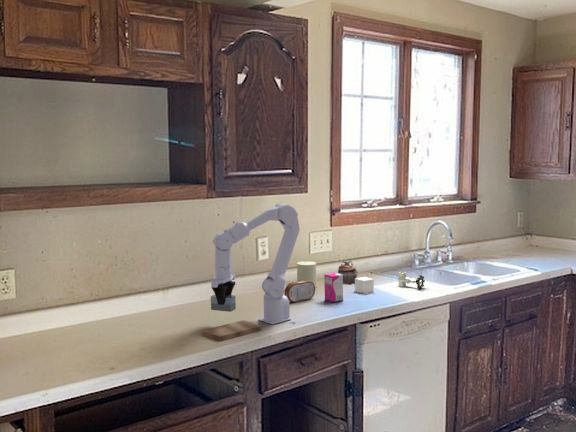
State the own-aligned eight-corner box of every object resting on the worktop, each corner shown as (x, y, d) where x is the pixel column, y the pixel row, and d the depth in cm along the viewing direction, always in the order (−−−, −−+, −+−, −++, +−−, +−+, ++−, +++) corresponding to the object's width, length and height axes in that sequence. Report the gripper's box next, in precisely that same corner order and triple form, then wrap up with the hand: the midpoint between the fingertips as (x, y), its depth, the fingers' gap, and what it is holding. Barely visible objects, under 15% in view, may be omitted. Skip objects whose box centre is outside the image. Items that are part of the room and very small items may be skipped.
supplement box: (334, 298, 252) (334, 272, 251) (343, 301, 247) (343, 274, 246) (324, 300, 249) (324, 273, 248) (332, 303, 244) (332, 276, 243)
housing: (216, 307, 216) (216, 293, 216) (235, 309, 213) (235, 295, 213) (211, 309, 213) (210, 296, 212) (230, 311, 210) (230, 298, 209)
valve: (394, 286, 274) (418, 290, 266) (395, 273, 273) (418, 276, 265) (401, 284, 279) (424, 288, 271) (401, 270, 278) (425, 274, 270)
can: (314, 284, 279) (314, 260, 277) (318, 289, 270) (318, 263, 268) (295, 285, 277) (295, 260, 276) (298, 289, 268) (298, 264, 267)
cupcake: (338, 283, 280) (338, 263, 279) (337, 279, 290) (337, 259, 289) (358, 283, 280) (358, 263, 279) (356, 279, 290) (356, 259, 289)
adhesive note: (373, 292, 264) (373, 279, 263) (363, 294, 260) (363, 280, 260) (364, 289, 269) (365, 276, 268) (354, 291, 265) (354, 278, 265)
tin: (312, 297, 255) (311, 278, 254) (316, 298, 252) (316, 279, 251) (284, 302, 246) (283, 282, 245) (288, 304, 243) (288, 284, 243)
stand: (243, 324, 215) (243, 320, 215) (260, 330, 208) (260, 325, 207) (202, 334, 203) (202, 330, 203) (219, 341, 196) (219, 336, 195)
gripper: (222, 261, 219) (223, 297, 221) (203, 269, 206) (204, 306, 208) (239, 263, 217) (240, 298, 218) (221, 270, 203) (221, 308, 205)
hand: (223, 302), depth 213 cm, fingers closed on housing, 4 cm apart
